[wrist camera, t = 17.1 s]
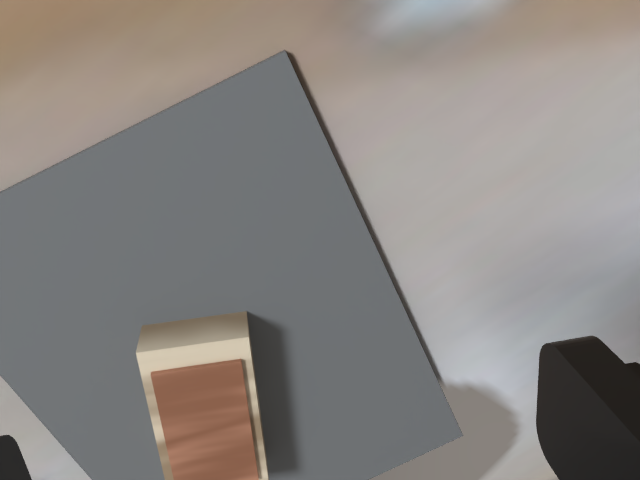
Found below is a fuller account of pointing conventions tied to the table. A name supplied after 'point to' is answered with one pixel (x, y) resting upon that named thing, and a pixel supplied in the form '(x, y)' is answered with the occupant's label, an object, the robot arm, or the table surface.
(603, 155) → the table surface
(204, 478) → the card box
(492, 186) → the table surface
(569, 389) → the robot arm
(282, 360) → the mat
